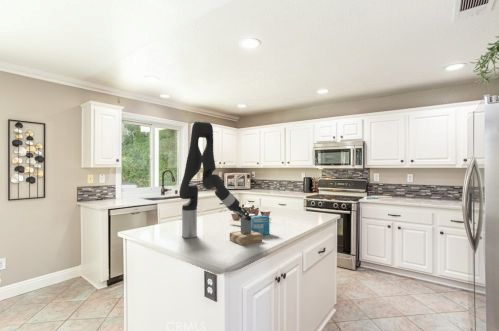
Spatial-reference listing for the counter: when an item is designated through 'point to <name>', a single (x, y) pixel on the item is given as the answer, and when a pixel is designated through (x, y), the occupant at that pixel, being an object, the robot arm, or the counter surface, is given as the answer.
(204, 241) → the counter surface
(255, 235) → the oak block
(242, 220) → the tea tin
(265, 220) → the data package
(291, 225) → the counter surface
